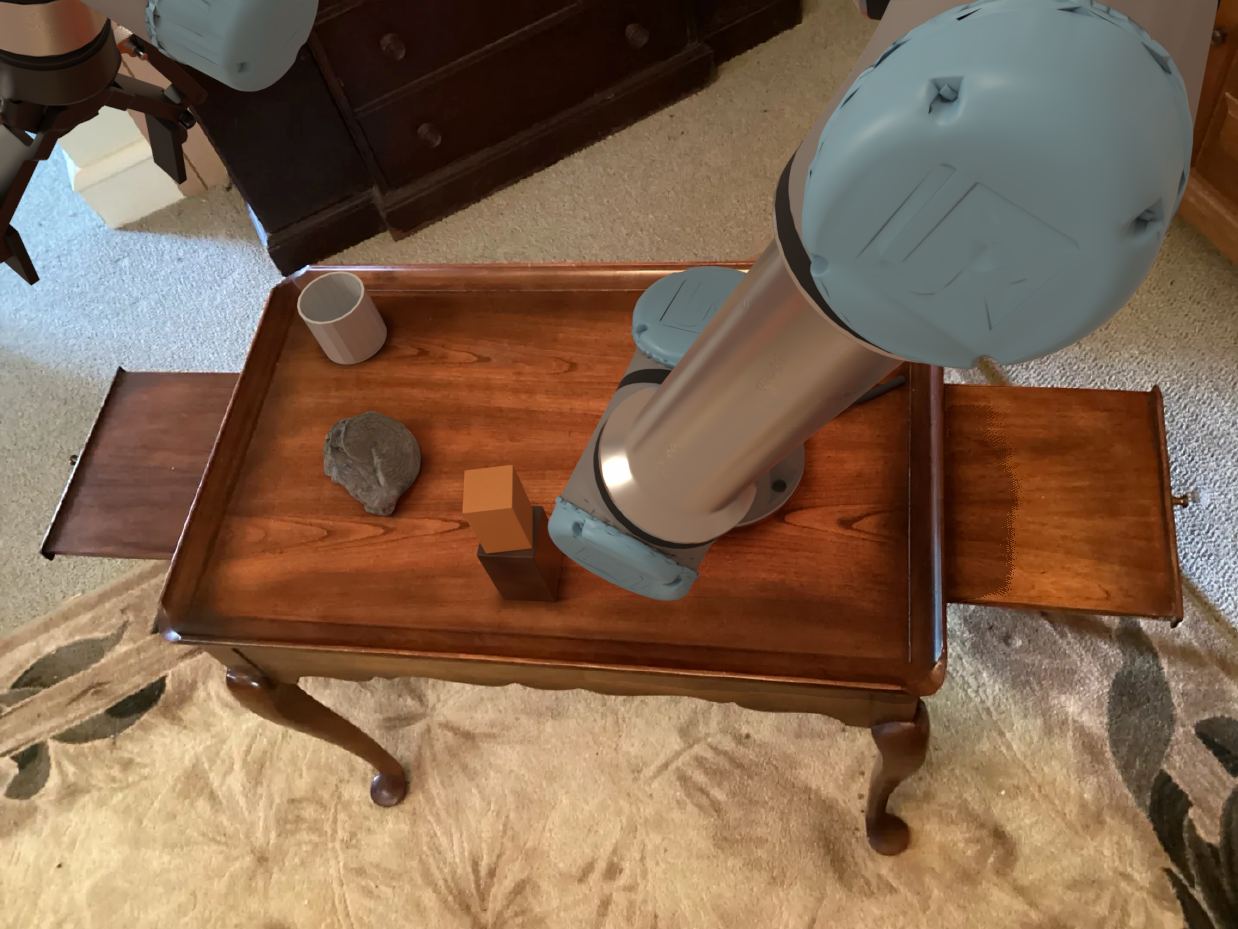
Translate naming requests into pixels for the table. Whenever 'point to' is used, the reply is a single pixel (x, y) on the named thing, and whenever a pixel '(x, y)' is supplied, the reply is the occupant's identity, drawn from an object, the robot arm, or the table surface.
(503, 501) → the orange block
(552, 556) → the dark brown block
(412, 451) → the fossilized seashell
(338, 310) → the plain cylindrical cup
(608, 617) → the table surface
